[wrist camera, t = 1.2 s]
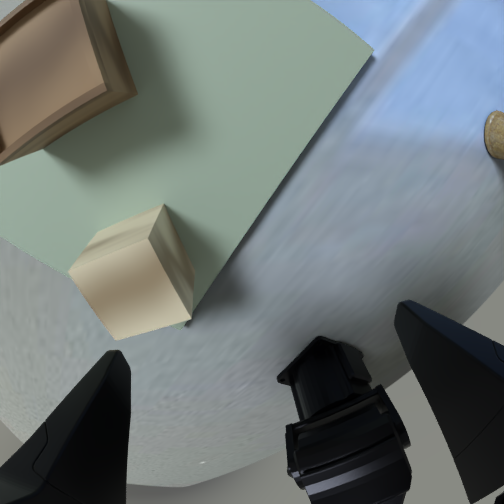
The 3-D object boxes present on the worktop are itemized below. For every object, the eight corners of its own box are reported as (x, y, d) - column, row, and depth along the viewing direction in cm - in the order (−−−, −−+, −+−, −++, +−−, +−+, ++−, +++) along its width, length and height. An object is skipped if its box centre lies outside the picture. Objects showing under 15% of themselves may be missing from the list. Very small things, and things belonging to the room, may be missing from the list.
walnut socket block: (138, 94, 14) (106, 90, 9) (42, 149, 14) (-7, 168, 10) (105, -1, 11) (70, -31, 6) (14, 59, 11) (-36, 56, 6)
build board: (181, 323, 23) (180, 330, 22) (-36, 203, 15) (-42, 207, 14) (368, 51, 15) (374, 50, 14) (95, -75, 7) (92, -79, 6)
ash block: (195, 270, 20) (191, 318, 15) (132, 292, 20) (115, 340, 15) (163, 203, 17) (147, 238, 13) (97, 231, 17) (67, 271, 13)
